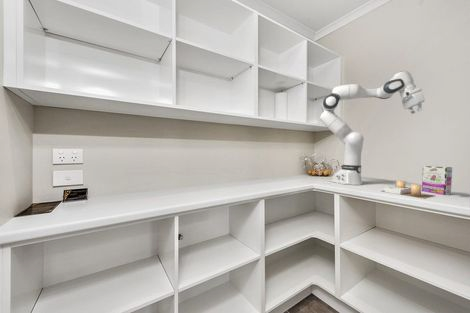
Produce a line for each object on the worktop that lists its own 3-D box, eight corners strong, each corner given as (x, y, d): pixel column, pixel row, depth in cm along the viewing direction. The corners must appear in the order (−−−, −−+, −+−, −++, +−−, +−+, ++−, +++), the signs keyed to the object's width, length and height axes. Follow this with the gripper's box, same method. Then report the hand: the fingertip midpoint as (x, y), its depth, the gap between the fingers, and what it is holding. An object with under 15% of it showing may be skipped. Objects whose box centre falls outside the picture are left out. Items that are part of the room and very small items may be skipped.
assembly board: (379, 192, 114) (379, 191, 114) (392, 190, 121) (392, 188, 121) (424, 200, 97) (424, 198, 96) (436, 197, 104) (436, 195, 104)
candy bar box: (451, 196, 106) (453, 167, 106) (445, 197, 105) (446, 167, 105) (427, 192, 117) (428, 165, 117) (421, 192, 116) (422, 165, 116)
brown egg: (409, 195, 104) (409, 184, 104) (412, 194, 106) (413, 183, 106) (419, 196, 100) (419, 185, 100) (422, 196, 102) (422, 185, 102)
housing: (384, 191, 112) (384, 181, 112) (396, 189, 119) (396, 179, 119) (400, 194, 106) (400, 183, 106) (411, 192, 112) (411, 181, 112)
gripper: (397, 99, 143) (404, 116, 141) (410, 91, 124) (418, 111, 123) (407, 95, 140) (414, 113, 139) (422, 87, 121) (430, 107, 120)
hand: (416, 112), depth 131 cm, fingers open, 8 cm apart
